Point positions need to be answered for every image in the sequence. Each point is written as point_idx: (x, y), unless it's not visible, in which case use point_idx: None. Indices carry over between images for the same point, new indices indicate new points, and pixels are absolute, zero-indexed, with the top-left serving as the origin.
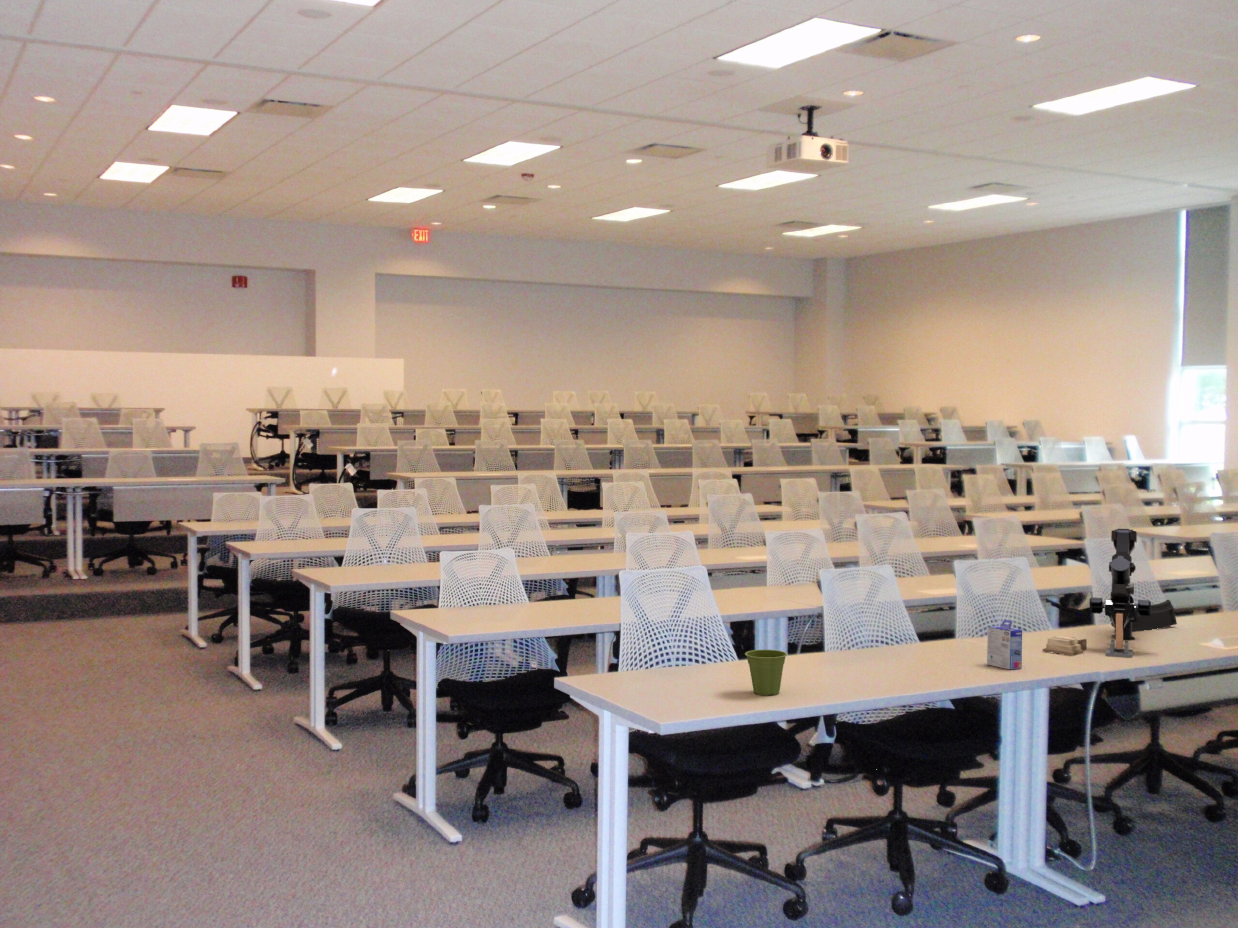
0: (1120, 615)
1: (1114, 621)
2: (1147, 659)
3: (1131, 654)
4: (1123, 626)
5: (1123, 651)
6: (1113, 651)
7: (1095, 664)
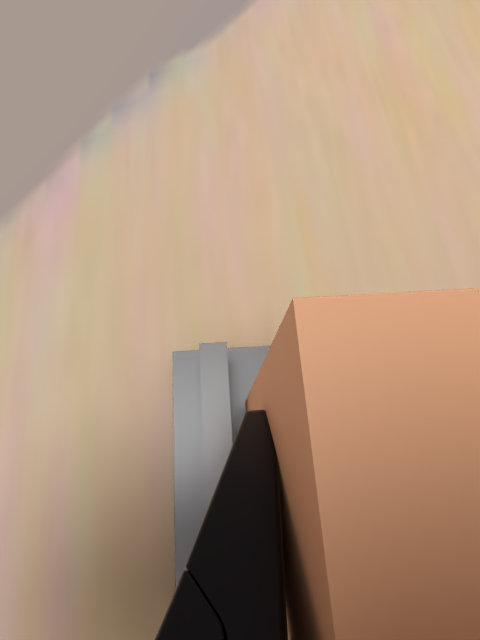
0: (345, 305)
1: None
2: (80, 340)
3: (177, 359)
4: (250, 411)
5: None
6: None
7: (331, 87)
